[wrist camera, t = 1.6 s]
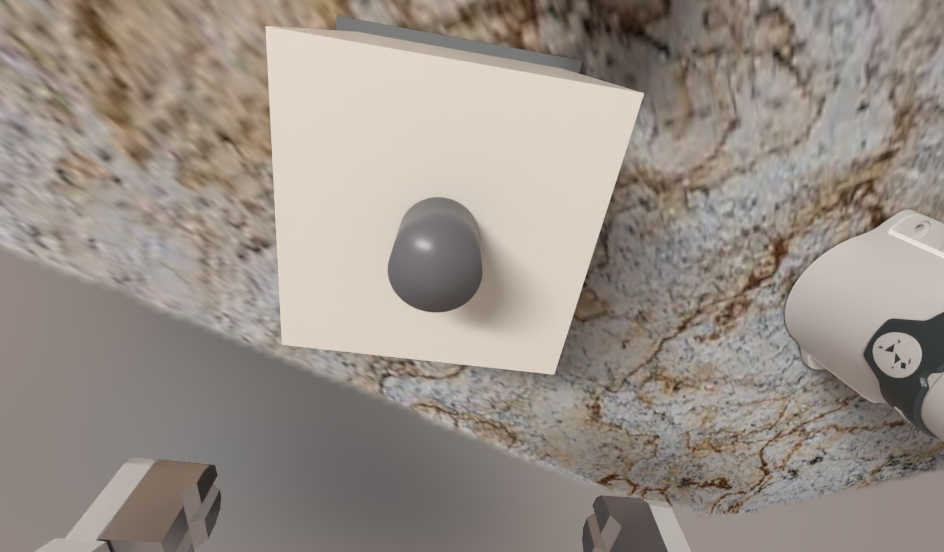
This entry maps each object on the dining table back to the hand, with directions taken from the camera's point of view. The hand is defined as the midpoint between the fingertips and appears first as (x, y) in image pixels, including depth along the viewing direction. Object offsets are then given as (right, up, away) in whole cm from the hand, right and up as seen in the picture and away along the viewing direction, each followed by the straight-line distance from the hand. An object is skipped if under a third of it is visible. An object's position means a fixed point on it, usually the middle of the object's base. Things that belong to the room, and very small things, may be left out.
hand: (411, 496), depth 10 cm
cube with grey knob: (-1, +15, +28) cm, 32 cm away
